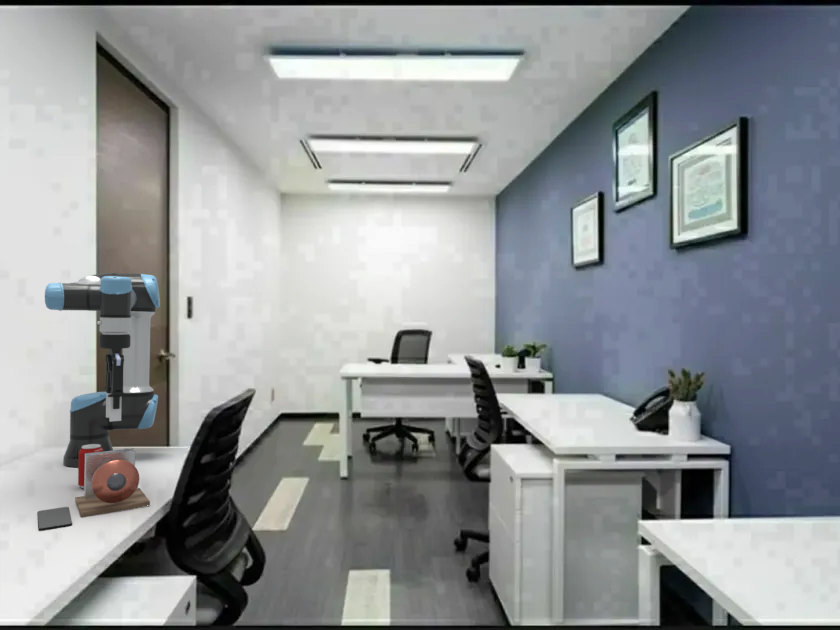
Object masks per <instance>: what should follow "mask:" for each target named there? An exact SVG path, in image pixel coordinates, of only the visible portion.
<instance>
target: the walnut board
mask: <svg viewBox="0 0 840 630" xmlns="http://www.w3.org/2000/svg"><path fill="white" fill-rule="evenodd" d="M74 498H75V501H74V502H75V505H76V507H77V508H76V509H77V510H78V513H79V517H80V518H85V517H92V516H97V515H98V516H99V515H103V514H110V512H111V513H116V511H117V512H121V511H122V510H123V511H129V510H134V508H135V509H139V508H138V507H141V508H143V507H142V506H147V505H150V506H151V501H150V500H149V499H148V497H147V495H146V494H145V493H144V492H143V490H142V489H141V487H137V489H136V490H135V492H134V493H133V494H132V495H131V496H130V497H129V498H127V499H125V500H123V501H121V502H117V503H107V502H103V501H101V500H100V499H98V498H93V499H87V500H85V498H84V495H83V496H76V497H74ZM147 507H148V506H147ZM128 509H129V510H128Z"/></svg>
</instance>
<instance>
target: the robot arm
mask: <svg viewBox="0 0 840 630" xmlns="http://www.w3.org/2000/svg"><path fill="white" fill-rule="evenodd" d="M159 288H160V287H159V284H158V279H157V277H156V276H154V275H153V274H144V273H121V272H120V273H119V272H117V273H115V272H105V273H104V272H102V273H98V274H92V275H87V276H84V277H82V278H80V279H79V280H78V281H74V282H70V283H68V282H67V283H65V282H63V283H62V282H51V283H48V284H47V285H46V287H45V290H44V303H45V307H46V308H47V309H49V310H51V311H53V310H54V311H60V312H61V311H89V312H90V311H91V312H92V311H93V312H99V320H98V321H97V323H96V324H97V325H99V332H100V333H101V334H99V336H98V337H99V338H98V347H99V348H100V349H106V350H108V353H107V354H105V358H104V359H105V387H104V389H105V391H97V392H96V391H95V392H90V393H84V394H80V395H76V396H75V397H73V398H72V399H71V401H70V410H69V415H70V417H69V442H68V444H67V447H66V449H65V453H64V455H63V457H62V458H63V461H62V463H63V464H62V465H64V466H65V465H66V466H65V467H69V466H70V468H71V467H72V468H73V467H74V468H78V463H79V451H80V450H81V447H82V446H84V445H89V444H100V445H101V448H102V449H103V451H113V450H114V447H113V444H112V442H111V439H110V431H121V430H141V429H149V428H151V427H152V426H153V425H154V424H155V423H154V422H155V418H156V413H157V409H158V402H159V401H158V400H159V395H158V394H154V393H155V391H154V388H153V387H151V386H150V369H151V368H150V366H151V364H150V362H151V360H150V359H151V355H150V354H151V318H152V317H153V316H154V315H155V314H156V309H158V308H161V299H160V296H161V295H160V289H159Z"/></svg>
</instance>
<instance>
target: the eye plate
mask: <svg viewBox="0 0 840 630" xmlns="http://www.w3.org/2000/svg"><path fill="white" fill-rule="evenodd" d="M113 459H124V460H127V461H129V462H131V463H132V464H133V465H134V466H135V467H136V450H135V448H134V447H133V448H125V449H124V448H123V449H113V451H103V452H94V453H85V474H84V489H83V490H84V491H83V496H84V498H85V500H87V499H93V498H97V497H96V495H95V494H94V492H93V489H92V485H91V482H92V477H93V475H94V473H95V471H96V470H97V469H98V468H99V467H100V466H101V465H102V464H104V463H105V462H107V461H110V460H113Z"/></svg>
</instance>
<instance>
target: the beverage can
mask: <svg viewBox="0 0 840 630" xmlns="http://www.w3.org/2000/svg"><path fill="white" fill-rule="evenodd" d="M94 452H103V449H102V448H101V445H100V444H89V445H84V446H82V447H81V450H80V451H79V463H78V467H77V468H78V469H77V471H78V473H77V475H78V476H77V479H78V480H77V485H78V486H79V487H80V488H81V489H82V488H83V490H84V474H85V453H94Z"/></svg>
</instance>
